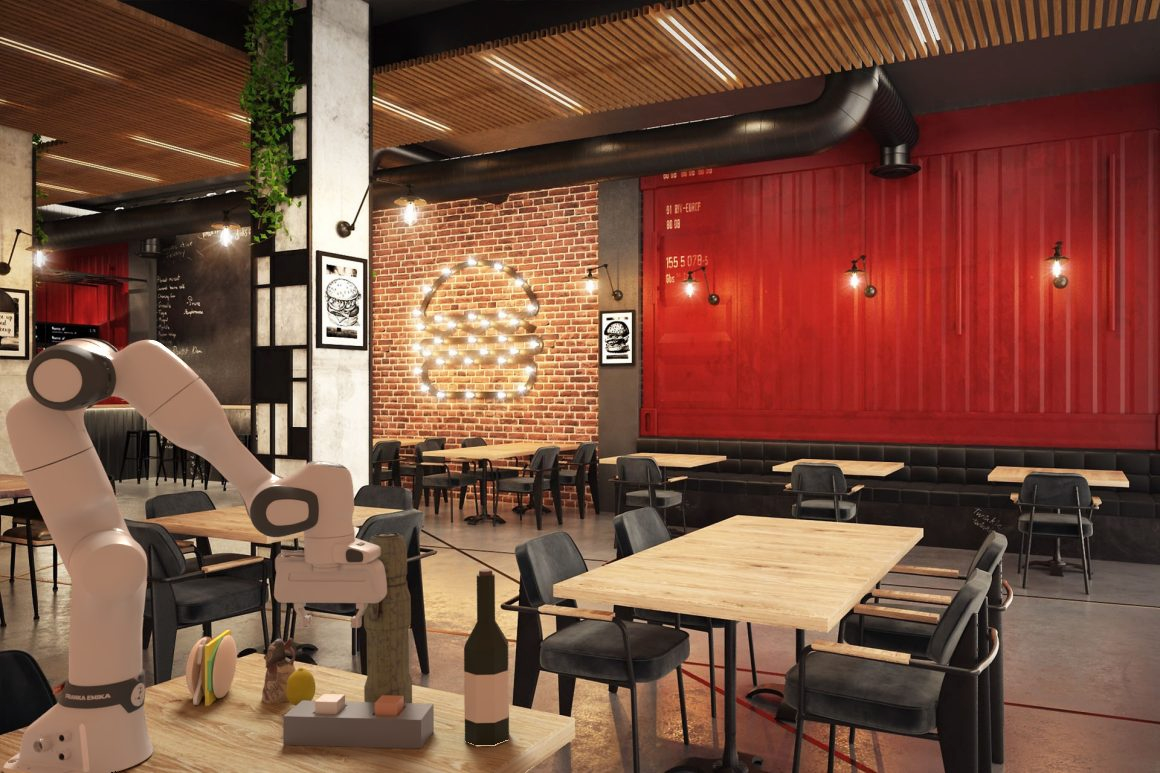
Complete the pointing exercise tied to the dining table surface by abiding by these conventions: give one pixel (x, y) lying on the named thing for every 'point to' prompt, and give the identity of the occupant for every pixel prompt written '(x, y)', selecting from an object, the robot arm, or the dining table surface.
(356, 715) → the key panel
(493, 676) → the wine bottle
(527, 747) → the dining table surface
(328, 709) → the pale key
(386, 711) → the clay key
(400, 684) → the thermos
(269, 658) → the figurine
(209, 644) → the hamburger
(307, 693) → the lemon
